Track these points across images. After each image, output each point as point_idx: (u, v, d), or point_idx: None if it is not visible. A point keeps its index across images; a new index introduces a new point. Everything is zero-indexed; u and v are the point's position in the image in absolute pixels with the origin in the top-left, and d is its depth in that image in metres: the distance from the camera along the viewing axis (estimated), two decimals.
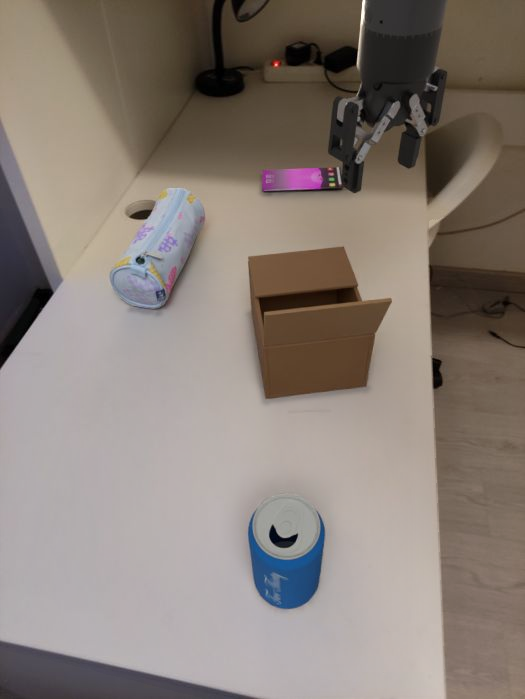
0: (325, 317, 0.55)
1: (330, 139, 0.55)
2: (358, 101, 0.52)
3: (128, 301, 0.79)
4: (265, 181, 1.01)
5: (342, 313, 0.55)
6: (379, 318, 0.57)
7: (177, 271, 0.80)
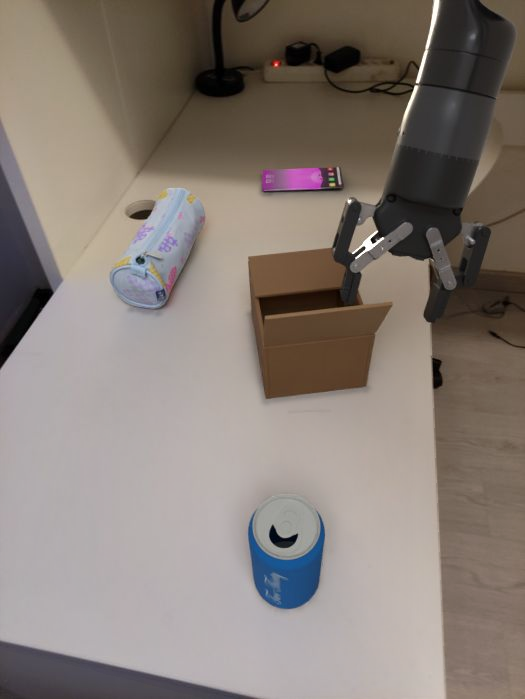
0: (326, 320, 0.55)
1: (335, 237, 0.53)
2: (367, 206, 0.50)
3: (128, 301, 0.79)
4: (265, 181, 1.01)
5: (342, 316, 0.55)
6: (380, 320, 0.57)
7: (177, 271, 0.80)
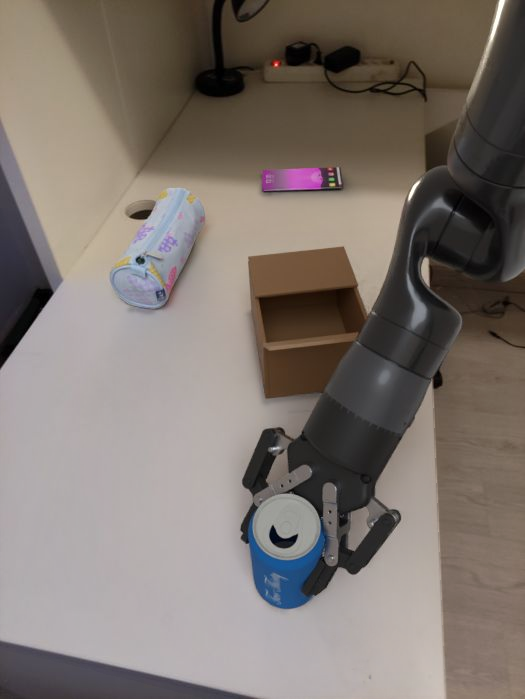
0: None
1: None
2: (283, 437, 0.48)
3: (128, 301, 0.79)
4: (265, 181, 1.01)
5: None
6: None
7: (177, 271, 0.80)
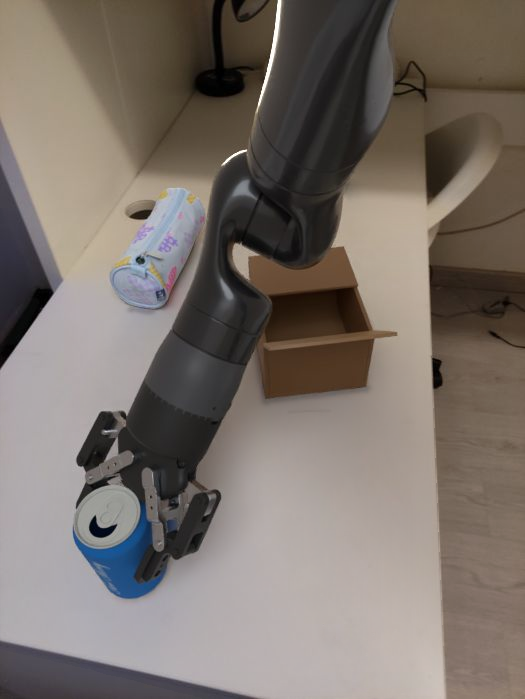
0: None
1: None
2: (118, 422, 0.48)
3: (128, 301, 0.79)
4: None
5: None
6: None
7: (177, 271, 0.80)
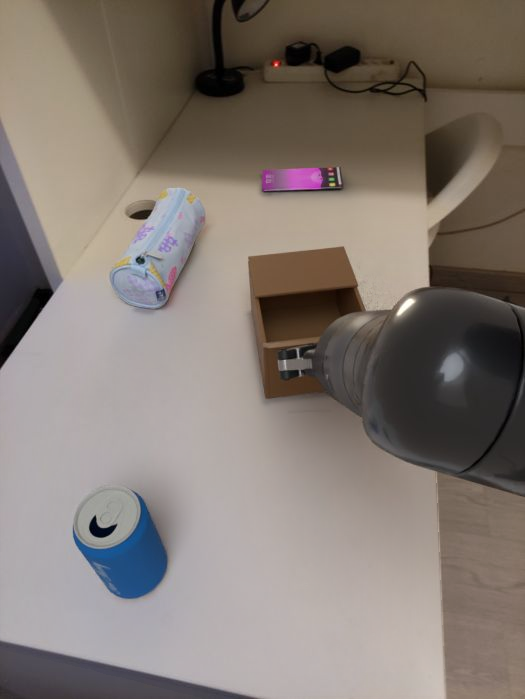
0: None
1: None
2: None
3: (128, 301, 0.79)
4: (265, 181, 1.01)
5: None
6: None
7: (177, 271, 0.80)
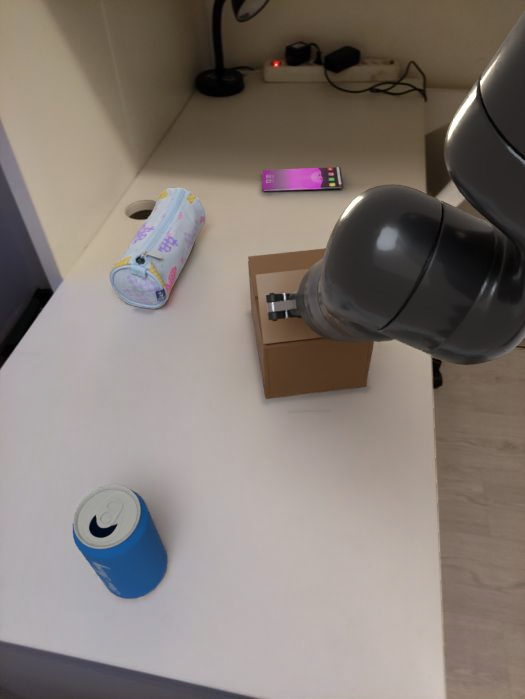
0: None
1: None
2: None
3: (128, 301, 0.79)
4: (265, 181, 1.01)
5: None
6: None
7: (177, 271, 0.80)
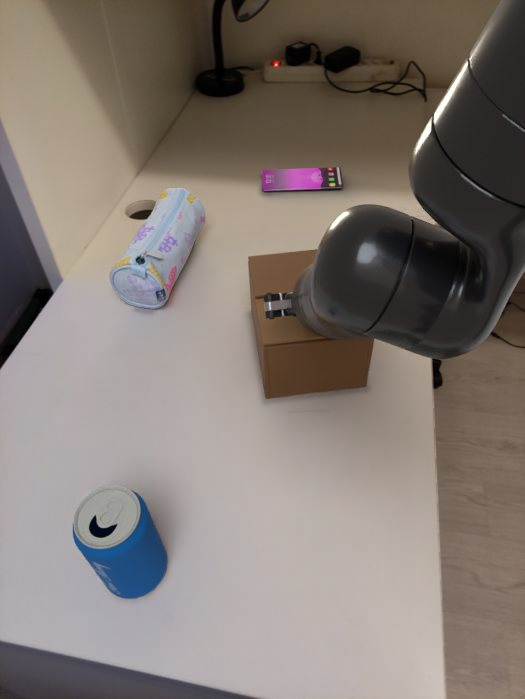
0: None
1: None
2: None
3: (128, 301, 0.79)
4: (265, 181, 1.01)
5: None
6: None
7: (177, 271, 0.80)
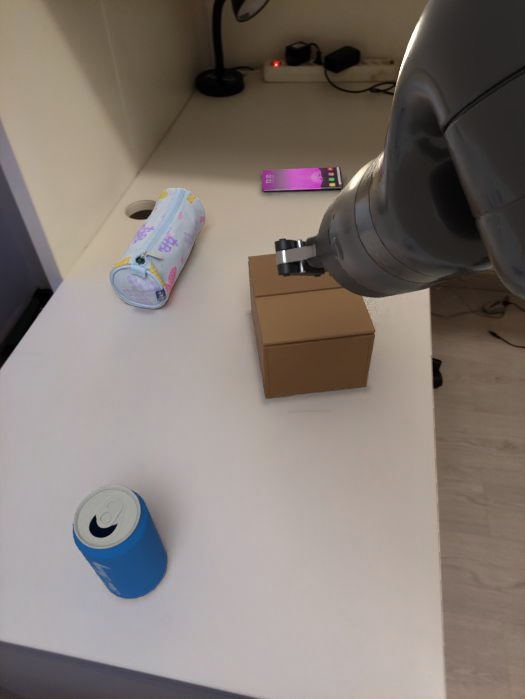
0: (309, 303, 0.65)
1: None
2: None
3: (128, 301, 0.79)
4: (265, 181, 1.01)
5: (322, 298, 0.65)
6: (362, 307, 0.64)
7: (177, 271, 0.80)
